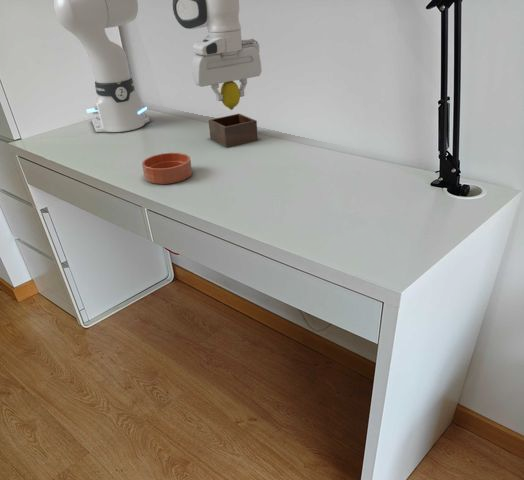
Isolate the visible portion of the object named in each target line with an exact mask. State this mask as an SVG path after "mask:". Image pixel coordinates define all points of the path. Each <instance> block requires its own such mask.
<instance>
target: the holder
mask: <svg viewBox="0 0 524 480" xmlns="http://www.w3.org/2000/svg"><path fill="white" fill-rule="evenodd" d="M208 129H209V138H210V140H212V141H213V142H215V143H217V144H219V145H221V146H223V147H225V148H230V147H235V146H239V145H244V144H247V143H252V142H257V141H258V137H259V136H258V121H257V120H256V119H253V118H251V117H249V116H246V115H244V114H242V113H235V114H231V115H226V116H221V117H216V118H211V119H208Z"/></svg>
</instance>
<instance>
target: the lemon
mask: <svg viewBox="0 0 524 480" xmlns="http://www.w3.org/2000/svg"><path fill="white" fill-rule="evenodd" d="M239 88H240V87H239V86H238V84H237V83H236V82H235V81H230V82H224V83H222V85H221V87H220V93H222V94H223V100H222V101H221V102H222V104H223V105H224V106H225V107H226V108H228V109H229V110H231V111H233V110H234V109H235V107H237V106H238V105H239V103H240V100H241V99H240V98H241V97H240V92H239Z"/></svg>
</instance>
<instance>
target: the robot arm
mask: <svg viewBox="0 0 524 480" xmlns="http://www.w3.org/2000/svg"><path fill="white" fill-rule="evenodd" d="M53 9H54V14H55V16H56V19H57V21H58V22H59V24H60V25H61V26H62V27H63V28H64V29H65V30H67V31H68V32H70V33H71V34H72V35H74V36H75V37H76V38H77V39H78V41H80V43H81V44H82V46H83V47H84V49H85V51H86V54H87V55H88V56H87V57H88V59H89V62H90V64H91V65H90V66H91V69H92V73H93V75H94V76H93V77H94V80H95V81H94V89H95V94H96V99H95V102H94V106H91V107H90V108H88V109H86V113H92V115H96V116H95V117H93V118H92V119H91V121H92V125H93V128H94V131H95V132H96V133H106V132H107V133H122V132H128V131H134V130H137V129H140V128H142V127H144V126H145V124H148V123H150V120H151V119H150V117H147V116H146V115H145V111H146V110H148V107H147V106H145V107H143V103H142V99H141V96H140V95H139V94H138V93H136V92H135V84H134V80H133V78H132V77H131V73H130V68H129V61H128V58H127V53H126V51H125V50H124V48H123V47H122V46H121V45H119V44H118V43H116V42H114V41H111V40H110V39H109V36H108V35H107V33H106V29H109V28H116V27H122V26H124V25H127V24H129V23H131V22H134V21H135V20H136V18H137V15H138V12H139V4H138V0H53ZM172 11H173V15H174V17H175V20H176V21H177V23H178V25H180V26H181V27H182V28H185V29H188V30H196V29H202V28H207V35H206V36H205V37H204V38H202V39H200V40H198V41H197V42H195V43H194V44H192V52H193V54H194V55H193V58H192V64H191V65H192V78H193V82H194V84H195V85H196V86H198V87H208V86H210V88H211V90H212V91H213V93H214V94H215V100H216V102H222V100H223V94H222V93H221V92H220V91H219V88H220V86H219V84H224V83H225V82H230V81H233V82H235V81H239V83H240V85H239V87H238V88H239V92H240V98H241V97H242V98H243V97H245V89H246V88H247V84H248V79H250V78H256V77H260V76H261V74H262V72H263V71H262V61H261V57H260V44H259V42H258V41H257V40H255V39H254V38H249V39H243V38H242V27H241V23H240V17H239V15H240V0H172Z"/></svg>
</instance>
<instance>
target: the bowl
mask: <svg viewBox="0 0 524 480" xmlns="http://www.w3.org/2000/svg"><path fill="white" fill-rule="evenodd" d="M141 162H142V163H141V165H142V171H143V176H144V180H146V181H147V182H148V183H151V184H152V183H153V184H159V185H168V184H169V185H170V184H176V183H179V182H181V181H184V180H186V179H188V178H190V177H191V176H192V175H193V169H192V161H191V156H189V155H188V154H186V153H181V152H165V153H159V154H154V155H151V156H149V157H146V158H145V159H144V160H143V161H141Z"/></svg>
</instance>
